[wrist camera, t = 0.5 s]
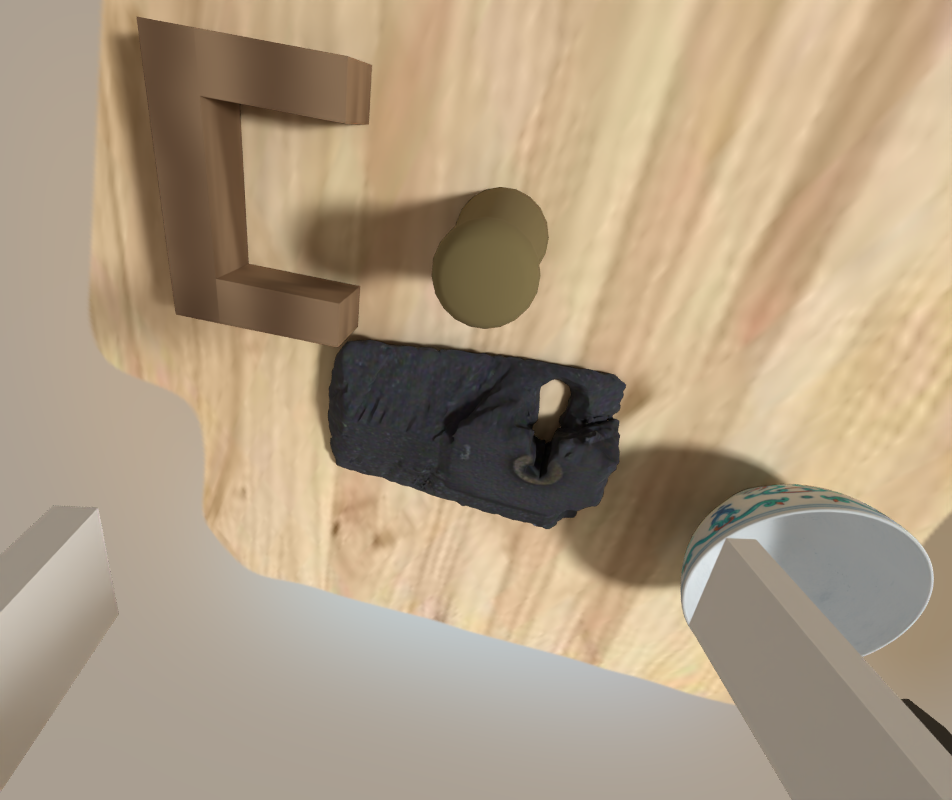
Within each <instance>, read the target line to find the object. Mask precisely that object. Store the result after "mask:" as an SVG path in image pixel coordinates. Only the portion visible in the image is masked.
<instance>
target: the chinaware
mask: <svg viewBox="0 0 952 800" xmlns="http://www.w3.org/2000/svg"><path fill="white" fill-rule="evenodd" d="M726 538H737V539H756V540H757V541H758V542H759V543H760V544H761V545H762V547H763V548H764V549H765V550H766V551H767V552H768V553H769V554H770V555H771V557H772V558H773V559H774V560H775V561H776V562H777V563H778V564H779V565H780V566H781V568H782V569H783V570H784V571H785V572H786V573H787V574H788V575H789V576H790V578H791V579H792V580H793V581H794V582H795V583H796V584H797V585H798V586H799V587H800V589H801V590H802V591H803V592H804V593H805V594H806V595H807V596H808V597H809V599H810V600H811V601H812V602H813V603H814V604H815V605H816V606H817V607H818V608H819V610H820V611H821V612H822V613H823V614H824V615H825V616H826V617H827V618H828V620H829V621H830V622H831V623H832V624H833V625H834V626H835V627H836V628H837V630H838V631H839V632H840V633H841V634H842V635H843V636H844V637H845V638H846V639H847V641H848V642H849V643H850V644H851V645H852V646H853V647H854V648H855V649H856V651H857V652H858V653H859V654H860V655H861V656H862V657H863V656H866V655H868V654H870V653H872V652H875V651H877V650H879V649H880V648H882V647H884V646H886V645H887V644H889V643H891V642H892V641H894V640H895V639H897V638H898V637H899V636H901V635H902V634H903V633H904V632H905V631H906V630H907V629H909V627H911V626H912V625H913V624H914V622H915V621H916V620H917V619H918V618H919V616H920V615H921V614H922V612H923V611H924V609H925V607H926V606H927V603H928V601H929V599H930V596H931V593H932V589H933V581H934V577H933V568H932V564H931V561H930V559H929V557H928V555H927V553H926V551H925V549H924V548H923V547H922V545H921V544H920V543H919V542H918V541H917V539H916V538H915V537H914V536H912V535H911V534H910V533H909V532H908V531H907V530H905V529H904V528H903V527H902V526H900V525H899V524H897V523H896V522H895V521H893V520H892V519H890V518H889V517H887V516H886V515H884V514H883V513H881V512H879V511H878V510H876V509H874V508H872V507H871V506H869V505H867V504H865V503H863V502H861V501H859V500H856V499H854V498H852V497H849V496H847V495H844V494H841V493H838V492H835V491H832V490H828V489H824V488H820V487H814V486H807V485H796V484H782V485H771V486H764V487H755V488H750V489H746V490H744V491H741V492H739V493H737V494H735V495H733V496H732V497H730V498H729V499H727V500H726V501H725V502H723V503H722V504H721V505H719V506H718V507H717V508H715V509H714V510H713V511H712V512H711V513H710V514H709V515H708V516H707V517H706V518H705V519H704V520H703V521H702V522H701V524H700V525H699V526H698V528H697V529H696V531H695V532H694V534H693V536H692V538H691V540H690V542H689V544H688V547H687V550H686V553H685V556H684V560H683V565H682V572H681V604H682V610H683V614H684V617H685V619H686V622H687V624H688V626H689V623H690V621H691V618H692V616H693V614H694V611H695V609H696V607H697V604H698V602H699V600H700V597H701V595H702V593H703V590H704V588H705V586H706V583H707V581H708V579H709V576H710V574H711V572H712V569H713V567H714V565H715V562H716V560H717V558H718V556H719V553H720V551H721V549H722V546H723V544H724V542H725V539H726ZM689 627H690V626H689ZM690 629H691V628H690ZM692 632H693V631H692Z"/></svg>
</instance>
